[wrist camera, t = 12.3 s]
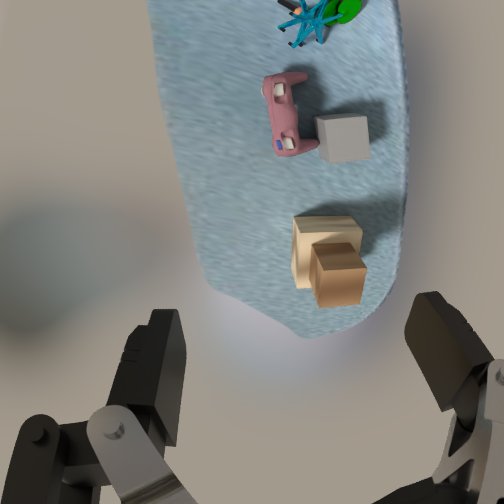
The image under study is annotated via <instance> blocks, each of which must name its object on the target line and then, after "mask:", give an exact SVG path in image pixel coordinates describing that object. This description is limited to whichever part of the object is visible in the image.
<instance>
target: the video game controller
mask: <svg viewBox="0 0 504 504" xmlns="http://www.w3.org/2000/svg"><path fill="white" fill-rule="evenodd" d="M308 77H309V76H308V75H307V74H306V73H303V72H283V73H279V74H275V75H271V76H266V77H265V78H264V81H263V87H262V89H261V93H262V94H263V96H264V97H265V98H266V100H267V102H268V110H269V117H270V122H271V127H272V131H273V147H274V150H275V153H276V154H277V156H295V155H298V154H301V153H304V152H307V151H310V150H313V149H315V148H316V147H317V146H318V145H319V142H318V141H317V140H315V139H299V133H298V128H297V125H298V112H297V109H296V107H295V105H294V103H293V97H292V91H291V86H292V85H294V84H297V83H301V82H304V81H306V80H307V79H308Z"/></svg>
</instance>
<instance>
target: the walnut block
mask: <svg viewBox="0 0 504 504" xmlns="http://www.w3.org/2000/svg"><path fill="white" fill-rule="evenodd" d="M366 271H367V267H366V266H365V264H364V263H363V261H362V260H361V258H360V257H359V255H358V254H357V252H356V251H355V249H354V248H353V246H352V245H351V243H326V244H311V257H310V270H309V281H310V284H311V286H312V289H313V292H314V295H315V298H316V301H317V304H318V306H319V308H324V307H335V306H346V305H357V304H360V300H361V296H362V291H363V286H364V281H365V276H366Z"/></svg>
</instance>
